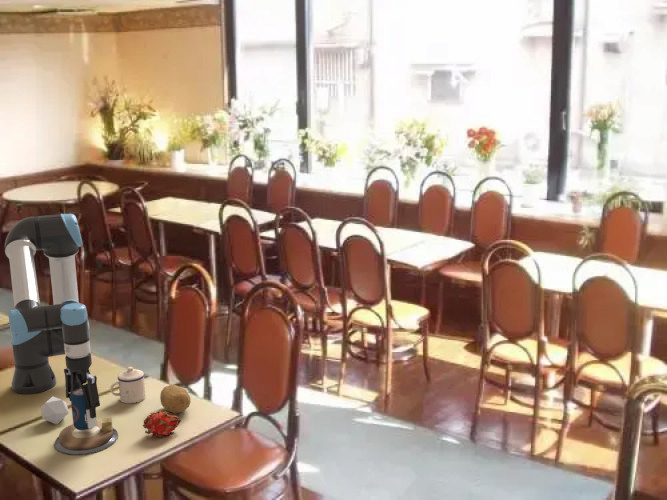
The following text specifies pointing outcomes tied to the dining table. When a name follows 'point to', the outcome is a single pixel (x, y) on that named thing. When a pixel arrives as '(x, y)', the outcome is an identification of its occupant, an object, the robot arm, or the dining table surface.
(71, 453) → the turntable base
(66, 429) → the turntable
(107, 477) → the dining table surface
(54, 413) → the die
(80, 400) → the soda can
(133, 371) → the teacup with lid
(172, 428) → the dragon fruit
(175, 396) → the potato
